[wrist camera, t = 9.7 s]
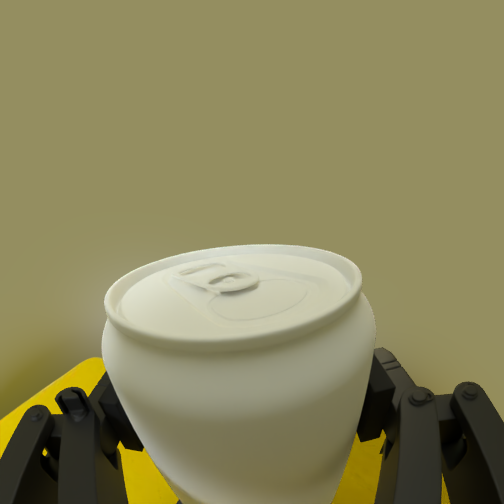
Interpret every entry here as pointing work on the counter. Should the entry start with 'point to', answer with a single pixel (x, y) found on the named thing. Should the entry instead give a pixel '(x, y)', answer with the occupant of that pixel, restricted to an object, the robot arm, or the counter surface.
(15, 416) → the counter surface
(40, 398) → the counter surface
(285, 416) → the beverage can
